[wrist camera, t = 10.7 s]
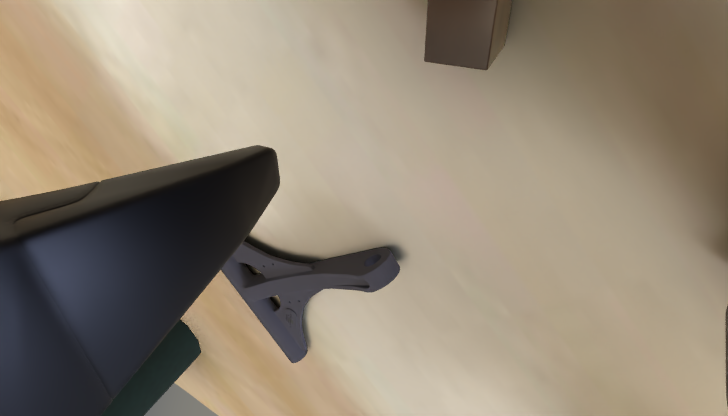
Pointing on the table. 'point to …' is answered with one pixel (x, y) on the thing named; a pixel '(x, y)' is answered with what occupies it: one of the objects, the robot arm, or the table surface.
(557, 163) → the table surface
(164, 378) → the wine bottle
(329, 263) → the bracket
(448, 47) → the spatula
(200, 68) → the table surface
